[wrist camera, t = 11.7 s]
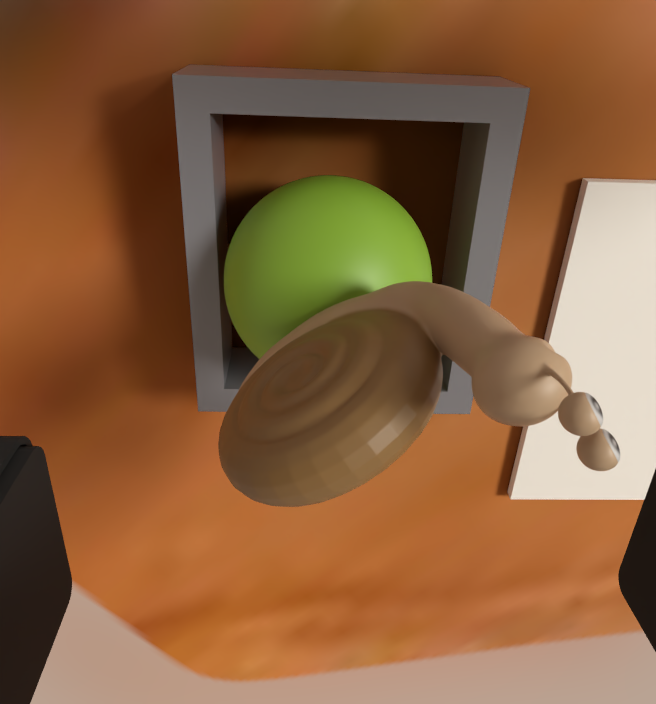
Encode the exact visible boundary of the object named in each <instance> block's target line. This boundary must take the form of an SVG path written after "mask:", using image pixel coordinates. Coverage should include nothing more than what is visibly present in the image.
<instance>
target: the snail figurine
mask: <svg viewBox="0 0 656 704" xmlns="http://www.w3.org/2000/svg"><path fill="white" fill-rule="evenodd" d="M224 293H225V300H226V305H227V308H228V312H229V315H230V318H231V320H232V322H233V325H234V327H235V329H236V331H237V332H238V334H239V336H240V337H241V339H242V340H243V342H244V343H245V344H246V346H247V347H248V348H249V349H250V350H251V352H252V353H253V354H254V355H255V356H256V357H257V358H259V361H258V362H257V363H256V364H255V366H254V367H253V368H252V370H251V371H250V372H249V374H248V375H247V377H246V378H245V380H244V381H243V383H242V385H241V387H240V388H239V391H238V393H237V394H236V396H235V397H234V399H233V401H232V402H231V404H230V406H229V408H228V410H227V412H226V414H225V417H224V420H223V423H222V426H221V429H220V434H219V456H220V461H221V465H222V468H223V470H224V472H225V474H226V475H227V477H228V479H229V480H230V482H231V483H232V485H233V486H234V487H235V488H236V489H238V490H239V491H240V492H242V493H243V494H244V495H246V496H247V497H249V498H250V499H252V500H254V501H257V502H260V503H263V504H267V505H271V506H283V507H299V506H305V505H311V504H317V503H321V502H324V501H327V500H329V499H332V498H335V497H338V496H341V495H343V494H345V493H347V492H349V491H351V490H353V489H355V488H357V487H359V486H361V485H363V484H364V483H366V482H368V481H369V480H370V479H372V478H373V477H375V476H376V475H378V474H379V473H381V472H382V471H384V470H385V469H386V468H388V467H389V466H390V465H391V464H392V463H393V462H394V461H395V460H397V459H398V458H399V457H400V456H401V455H402V454H403V453H404V452H405V451H406V450H407V449H408V448H409V447H410V446H411V445H412V443H413V442H414V441H415V440H416V439H417V438H418V437H419V435H420V434H421V433H422V431H423V429H424V428H425V426H426V425H427V423H428V422H429V420H430V418H431V417H432V415H433V413H434V410H435V407H436V405H437V402H438V400H439V397H440V393H441V387H442V379H443V367H442V360H441V356H442V355H446V356H447V357H449V358H450V359H451V360H452V361H453V362H455V363H456V364H457V365H458V366H460V367H461V368H462V369H463V370H464V371H465V372H466V373H468V374H469V375H470V376H471V377H472V392H473V396H474V399H475V401H476V403H477V405H478V406H479V408H480V409H481V410H482V411H483V412H484V413H485V414H486V415H487V416H488V417H490V418H491V419H493V420H495V421H497V422H499V423H502V424H506V425H511V426H531V425H535V424H538V423H541V422H543V421H545V420H547V419H549V418H550V417H552V416H553V415H554V414H555V413H556V412H557V411H558V418H559V421H560V423H561V425H562V426H563V427H564V429H565V430H567V431H568V432H570V433H571V434H574V435H577V436H581V437H580V438H579V440H578V442H577V447H576V450H577V455H578V457H579V459H580V461H581V462H582V463H583V464H584V465H585V466H586V467H588V468H589V469H592V470H595V471H607V470H610V469H612V468H614V467H615V466H616V465H617V464H618V462H619V460H620V449H619V446H618V444H617V441H616V440H615V438H614V437H613V436H612V434H610V433H609V432H608V431H607V430H605V429H600V427H601V426H602V424H603V414H602V410H601V408H600V406H599V404H598V402H597V401H596V399H595V398H594V397H593V396H591V395H590V394H588V393H585V392H575V393H574V392H573V391H572V389H571V386H572V371H571V367H570V365H569V363H568V361H567V360H566V359H565V358H564V357H562V356H561V355H559V354H557V353H555V351H554V349H553V347H552V346H551V345H550V344H549V343H548V342H546V341H545V340H543V339H540V338H537V337H532V336H527V335H524V334H523V333H522V332H521V331H519V330H518V329H517V328H516V327H515V326H514V325H513V324H512V323H511V322H510V321H509V320H507V319H506V318H505V317H504V316H502V315H501V314H500V313H498V312H497V311H495V310H494V309H492V308H490V307H489V306H487V305H486V304H484V303H482V302H481V301H479V300H478V299H476V298H474V297H472V296H470V295H469V294H466V293H464V292H462V291H460V290H457V289H455V288H452V287H449V286H445V285H441V284H436V283H432V268H431V261H430V256H429V253H428V249H427V246H426V243H425V241H424V238H423V236H422V234H421V232H420V230H419V228H418V226H417V225H416V223H415V222H414V220H413V219H412V217H411V216H410V215H409V214H408V212H407V211H406V210H405V209H404V208H403V207H402V206H401V205H400V204H399V203H398V202H397V201H396V200H395V199H393V198H392V197H391V196H390V195H388V194H387V193H385V192H384V191H382V190H380V189H379V188H377V187H375V186H373V185H371V184H369V183H366V182H363V181H361V180H357V179H354V178H349V177H344V176H336V175H320V176H311V177H306V178H302V179H298V180H295V181H292V182H290V183H287V184H285V185H283V186H281V187H279V188H277V189H275V190H274V191H272V192H271V193H269V194H268V195H266V196H265V197H264V198H262V199H261V200H260V201H259V202H258V203H257V204H256V205H255V206H254V207H253V208H252V209H251V210H250V211H249V212H248V213H247V215H246V216H245V217H244V219H243V220H242V221H241V223H240V225H239V226H238V228H237V230H236V232H235V234H234V236H233V238H232V240H231V243H230V246H229V249H228V252H227V256H226V261H225V267H224Z"/></svg>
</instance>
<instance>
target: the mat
mask: <svg viewBox="0 0 656 704" xmlns="http://www.w3.org/2000/svg"><path fill="white" fill-rule="evenodd" d="M544 340H545V341H546V342H548V343H549V344H550V345H551V346H552V347H553V349H554V351H555V353H557V354H559V355H561V356H562V357H564V358H565V359H566V360H567V361H568V363H569V365H570V367H571V371H572V386H571V389H572V391H573V392H574V393H575V392H585V393H588V394H590V395H591V396H593V397H594V398H595V399H596V401H597V402H598V404H599V406H600V408H601V410H602V414H603V424H602V426H601V427H600V429H605V430H607V431H608V432H609V433H610V434H612V436H613V437H614V438H615V440H616V441H617V444H618V446H619V449H620V460H619V462H618V464H617V465H616V466H615V467H614V468H612V469H610V470H607V471H595V470H592V469H589V468H588V467H586V466H585V465H584V464H583V463H582V462H581V461H580V459H579V457H578V455H577V450H576V447H577V442H578V440H579V438H580V437H581V436H577V435H574V434H571V433H570V432H568V431H567V430H565V429H564V427H563V426H562V425H561V423H560V421H559V418H558V411H557V412H556V413H555V414H554V415H553V416H552V417H550V418H549V419H547V420H545V421H543V422H541V423H538V424H535V425H531V426H523V429H522V433H521V437H520V442H519V446H518V450H517V454H516V458H515V462H514V467H513V471H512V475H511V479H510V483H509V488H508V495H509V497H510V499H608V500H645V497H646V494H647V491H648V489H649V486H650V483H651V480H652V477H653V475H654V472H655V469H656V180H627V179H595V178H583V179H582V183H581V187H580V191H579V196H578V200H577V204H576V208H575V212H574V216H573V221H572V225H571V229H570V233H569V237H568V242H567V246H566V250H565V254H564V258H563V262H562V267H561V271H560V275H559V279H558V283H557V287H556V292H555V296H554V300H553V304H552V308H551V312H550V317H549V321H548V325H547V329H546V333H545V337H544Z"/></svg>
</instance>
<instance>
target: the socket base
mask: <svg viewBox="0 0 656 704" xmlns="http://www.w3.org/2000/svg"><path fill="white" fill-rule="evenodd" d="M172 80H173V93H174V105H175V118H176V131H177V144H178V157H179V170H180V182H181V195H182V208H183V221H184V234H185V246H186V259H187V272H188V285H189V298H190V311H191V323H192V336H193V349H194V362H195V375H196V387H197V400H198V411H217V412H227V410H228V408H229V406H230V404H231V402H232V401H233V399H234V397H235V396H236V394H237V393H238V391H239V388H240V387H241V385H242V383H243V381H244V380H245V378H246V377H247V375H248V374H249V372H250V371H251V370H252V368H253V367H254V366H255V364H256V363H257V362H258V361H259V358H257V357H256V356H255V355H254V354H253V353H252V352H251V350H250V349H249V348H240V347H232V325H231V318H230V315H229V312H228V308H227V305H226V300H225V293H224V267H225V261H226V256H227V252H228V231H227V207H226V184H225V160H224V136H223V114H240V115H269V116H297V117H326V118H354V119H383V120H412V121H440V122H464V125H463V133H462V140H461V147H460V154H459V161H458V168H457V175H456V183H455V190H454V197H453V204H452V211H451V218H450V225H449V233H448V240H447V247H446V254H445V261H444V268H443V276H442V283H441V285H445V286H449V287H452V288H455V289H457V290H460V291H462V292H464V293H466V294H469V295H470V296H472V297H474V298H476V299H478V300H479V301H481V302H482V303H484V304H486V305H487V306H489V307H490V303H491V298H492V292H493V287H494V281H495V276H496V271H497V265H498V260H499V254H500V249H501V244H502V238H503V233H504V227H505V222H506V217H507V211H508V206H509V200H510V195H511V190H512V184H513V179H514V173H515V168H516V163H517V157H518V152H519V147H520V141H521V136H522V130H523V125H524V120H525V114H526V109H527V103H528V98H529V93H530V88H529V87H526V86H523V85H521V84H518V83H516V82H513V81H510V80H508V79H505V78H502V77H497V76H471V75H446V74H420V73H394V72H369V71H343V70H318V69H292V68H266V67H241V66H215V65H190V64H189V65H188V66H186V67H184V68H182V69H181V70H179V71H177V72H175V73H174V74H172ZM441 360H442V367H443V379H442V387H441V393H440V397H439V400H438V402H437V405H436V407H435V410H434V413H433V414H470V411H471V406H472V400H473V392H472V377H471V376H470V375H469V374H468V373H466V372H465V371H464V370H463V369H462V368H461V367H460V366H458V365H457V364H456V363H455V362H453V361H452V360H451V359H450V358H449V357H447V356H446V355H442V356H441Z"/></svg>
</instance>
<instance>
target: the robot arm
mask: <svg viewBox="0 0 656 704" xmlns="http://www.w3.org/2000/svg"><path fill="white" fill-rule="evenodd" d="M619 585H620V589H621V592H622V594H623V596H624V598H625V600H626V601H627V603H628V605H629V607H630V608H631V610H632V612H633V613H634V615H635V617H636V619H637V620H638V622H639V624H640V626H641V627H642V629H643V631H644V633H645V634H646V636H647V638H648V639H649V641H650V643H651V645H652V646H653V648H654V650H655V651H656V469H655V472H654V475H653V477H652V480H651V483H650V486H649V489H648V491H647V494H646V497H645V500H644V502H643V505H642V508H641V511H640V514H639V516H638V519H637V522H636V525H635V527H634V530H633V533H632V536H631V539H630V541H629V544H628V547H627V550H626V553H625V555H624V558H623V561H622V564H621V566H620V570H619ZM71 590H72V577H71V572H70V567H69V563H68V558H67V554H66V549H65V545H64V540H63V535H62V531H61V526H60V522H59V517H58V513H57V508H56V503H55V499H54V494H53V490H52V485H51V481H50V476H49V471H48V467H47V462H46V458H45V454H44V451H43V449H42V448H41V447H39V446H32V443H31V441H30V440H29V438H27V437H25V436H0V704H30V702H31V700H32V697H33V694H34V692H35V689H36V687H37V684H38V682H39V679H40V676H41V673H42V671H43V669H44V666H45V663H46V660H47V658H48V656H49V653H50V650H51V648H52V645H53V643H54V640H55V637H56V635H57V632H58V630H59V627H60V625H61V622H62V619H63V616H64V614H65V612H66V609H67V606H68V604H69V600H70V596H71Z"/></svg>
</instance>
